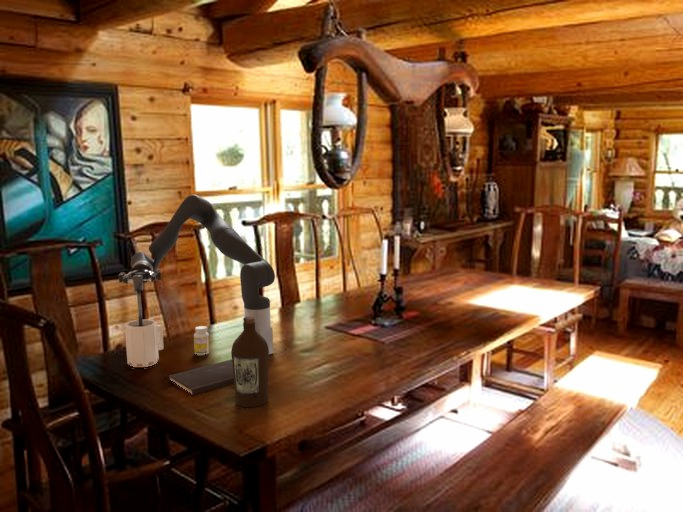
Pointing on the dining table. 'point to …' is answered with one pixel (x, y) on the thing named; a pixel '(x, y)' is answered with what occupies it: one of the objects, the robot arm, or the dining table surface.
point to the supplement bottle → (201, 341)
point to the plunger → (138, 296)
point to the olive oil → (250, 366)
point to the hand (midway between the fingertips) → (139, 280)
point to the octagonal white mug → (143, 343)
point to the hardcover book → (205, 377)
